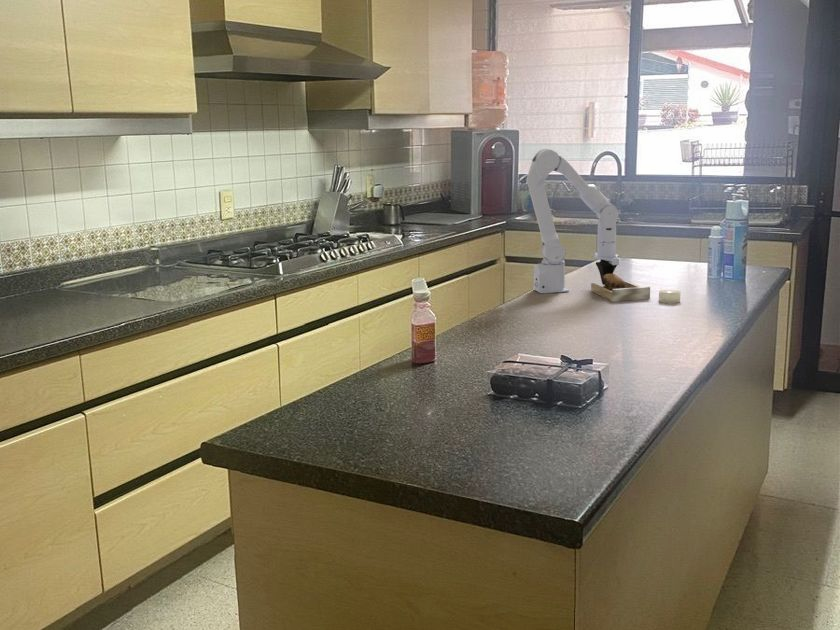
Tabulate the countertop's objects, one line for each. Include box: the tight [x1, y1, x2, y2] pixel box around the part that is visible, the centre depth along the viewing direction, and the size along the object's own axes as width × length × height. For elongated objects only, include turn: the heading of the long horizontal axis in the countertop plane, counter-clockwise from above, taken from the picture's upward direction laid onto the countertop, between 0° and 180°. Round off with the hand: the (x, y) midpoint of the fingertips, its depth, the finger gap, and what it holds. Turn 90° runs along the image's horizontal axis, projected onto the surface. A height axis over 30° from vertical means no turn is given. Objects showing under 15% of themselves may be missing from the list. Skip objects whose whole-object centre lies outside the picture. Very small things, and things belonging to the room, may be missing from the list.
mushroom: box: [602, 273, 625, 291], centre depth 264 cm, size 8×8×6 cm
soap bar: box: [658, 289, 682, 304], centre depth 249 cm, size 6×6×3 cm
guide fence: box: [590, 280, 651, 302], centre depth 260 cm, size 12×17×4 cm
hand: (606, 284), depth 270 cm, fingers closed
